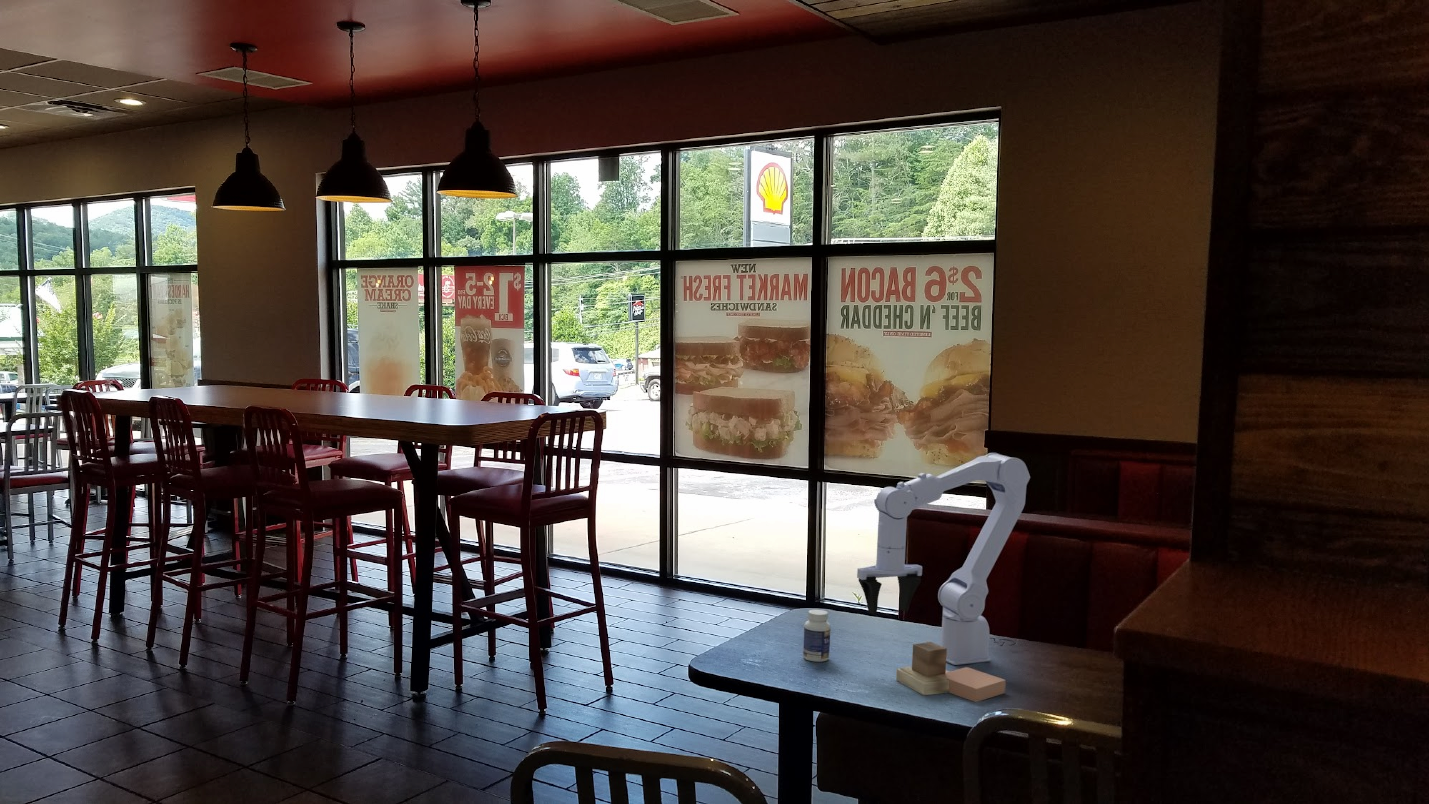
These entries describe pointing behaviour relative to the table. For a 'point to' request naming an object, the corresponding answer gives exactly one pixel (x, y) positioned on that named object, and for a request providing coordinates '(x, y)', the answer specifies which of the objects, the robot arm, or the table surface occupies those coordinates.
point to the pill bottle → (816, 636)
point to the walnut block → (929, 659)
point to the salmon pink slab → (974, 684)
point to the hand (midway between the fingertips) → (888, 611)
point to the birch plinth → (922, 681)
